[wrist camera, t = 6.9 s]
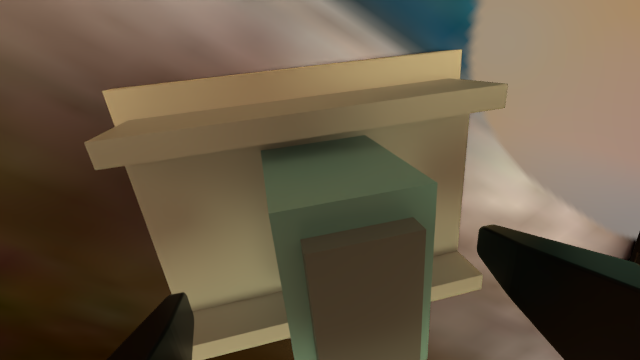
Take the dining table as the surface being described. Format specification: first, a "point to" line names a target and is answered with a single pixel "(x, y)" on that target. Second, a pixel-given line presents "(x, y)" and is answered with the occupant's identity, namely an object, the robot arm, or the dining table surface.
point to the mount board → (248, 179)
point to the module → (352, 249)
